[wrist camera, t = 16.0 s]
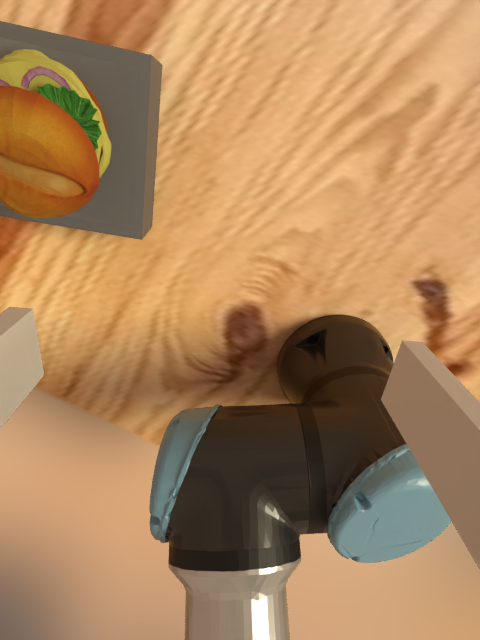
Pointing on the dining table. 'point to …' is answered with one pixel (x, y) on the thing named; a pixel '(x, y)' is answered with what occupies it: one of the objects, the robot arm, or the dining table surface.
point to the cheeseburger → (48, 137)
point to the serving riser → (122, 126)
